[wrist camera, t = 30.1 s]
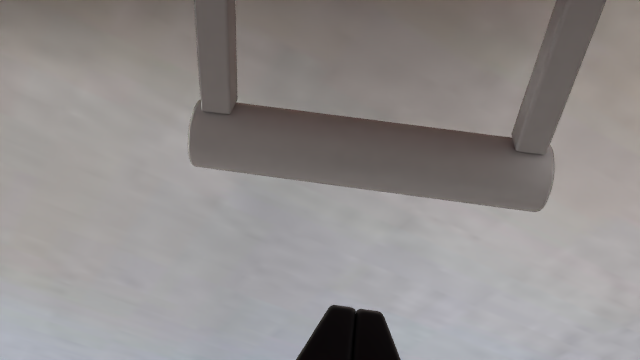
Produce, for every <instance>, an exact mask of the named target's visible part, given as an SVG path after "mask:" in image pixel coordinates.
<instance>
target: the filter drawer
mask: <svg viewBox="0 0 640 360" xmlns="http://www.w3.org/2000/svg"><path fill="white" fill-rule="evenodd" d="M605 2H606V0H556V3H555V6H554V9H553V12H552V15H551V18H550V21H549V24H548V27H547V30H546V33H545V36H544V39H543V42H542V45H541V48H540V51H539V54H538V57H537V60H536V63H535V66H534V69H533V72H532V75H531V78H530V81H529V83H528V86H527V89H526V92H525V95H524V98H523V101H522V104H521V107H520V110H519V113H518V116H517V119H516V122H515V125H514V128H513V131H512V138H510V137H502V136H494V135H486V134H478V133H471V132H463V131H455V130H447V129H439V128H432V127H424V126H416V125H408V124H400V123H392V122H385V121H377V120H369V119H361V118H353V117H345V116H338V115H330V114H322V113H314V112H306V111H298V110H291V109H283V108H275V107H267V106H259V105H252V104H244V103H236V101H237V56H236V10H235V0H194V11H195V25H196V40H197V55H198V69H199V84H200V100H199V101H198V102H197V103H196V105H195V107H194V110H193V112H192V116H191V119H190V124H189V130H188V154H189V159H190V162H191V164H192V165H194V166H196V167H202V168H210V169H217V170H225V171H232V172H240V173H247V174H254V175H262V176H269V177H277V178H284V179H292V180H299V181H307V182H314V183H322V184H329V185H336V186H344V187H351V188H359V189H366V190H374V191H381V192H389V193H396V194H403V195H411V196H418V197H426V198H433V199H441V200H448V201H456V202H463V203H471V204H478V205H485V206H493V207H500V208H508V209H515V210H523V211H530V212H537V211H540V210H541V209H542V208H543V207H544V206H545V204H546V202H547V200H548V198H549V195H550V192H551V188H552V184H553V179H554V167H555V164H554V154H553V150H552V147H551V146H550V143H551V140H552V138H553V135H554V132H555V130H556V127H557V125H558V122H559V120H560V117H561V115H562V112H563V109H564V107H565V104H566V102H567V99H568V97H569V94H570V92H571V89H572V86H573V84H574V81H575V79H576V76H577V74H578V71H579V69H580V66H581V64H582V61H583V58H584V56H585V53H586V51H587V48H588V46H589V43H590V41H591V38H592V35H593V33H594V30H595V28H596V25H597V23H598V20H599V18H600V15H601V12H602V10H603V7H604V5H605Z"/></svg>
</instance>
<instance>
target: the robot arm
mask: <svg viewBox="0 0 640 360" xmlns="http://www.w3.org/2000/svg"><path fill="white" fill-rule="evenodd" d="M296 360H400V357H399V354H398V352H397V349H396V347H395V344H394V341H393V339H392V336H391V334H390V331H389V328H388V326H387V323H386V321H385V318H384V316H383V314H382V313H381V312H378V311H372V310H365V309H359V310H357V311H355V309H353V308H351V307H345V306H338V305H332V306H330V307H329V308H328V310H327V311H326V313H325V315H324V316H323V318H322V319H321V321H320V322H319V324H318V326H317V327H316V329H315V330H314V332H313V334H312V335H311V337H310V338H309V340H308V342H307V343H306V345H305V346H304V348H303V350H302V351H301V353H300V354H299V356H298V357H297V359H296Z"/></svg>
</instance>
